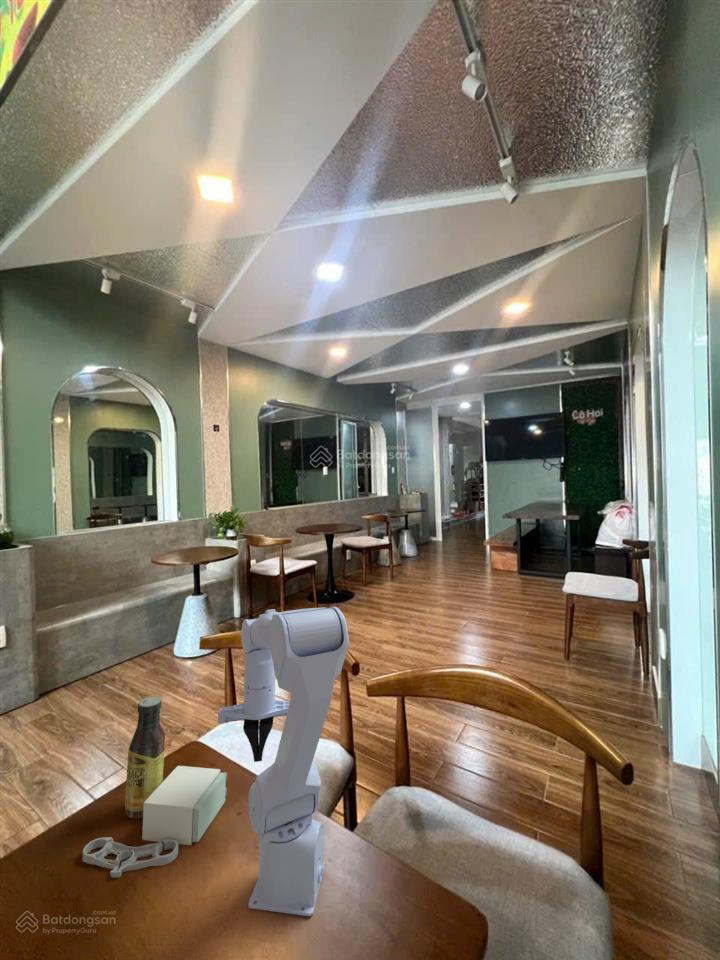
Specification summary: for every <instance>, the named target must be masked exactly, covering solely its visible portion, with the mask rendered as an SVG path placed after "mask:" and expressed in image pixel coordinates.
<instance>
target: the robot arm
mask: <svg viewBox="0 0 720 960" xmlns="http://www.w3.org/2000/svg"><path fill="white" fill-rule="evenodd" d="M348 632H349V631H348V624H347V620H346V617H345V615H344V613H343V612H342V611H341V609H340V608H339V607H337V606H330V607H329V608H327V607H312V608H310V607H309V608H300V609H292V610H285V611H281V612H278V611H276V609H275V608H273V609H272V608H271V609H267V610H265V612H264V613H262V614H259V615H258V618H253V619H247V618H245V619H244V620H243V622H242V624H241V631H240V637H241V638H240V639H241V645H242V650H243V652H244V673H243V674H244V675H243V677H244V678H243V703H239V704H234V705H230V706H225V707H224V706H223V707H220V708H219V710H218V712H217V713H218V715H217V724H219V725H221V724H225V722H233V721H243V726H242V730H243V734H245V736H246V738H247V740H248V743H249V744H250V748H251V751H252V755H253V756H252V757H253V762H254V763H255V762H257V763H258V762H262V761H263V754H264V749H265V746H266V742H267V739H268V738H269V735H270V734H271V733H270V732H271V730H272V729H273V724H274V718H279V717H285V721H284V724H283V729H282V732H281V737H280V741H279V744H278V749H277V753H276V756H275V758H274V759H275V761H274V762H273V763H272V764H271V765H270V766H268V767H267V768H266V769H264V770H262V771H261V772H260V773H259V774H258V775H257V776H256V778H255V782H253V783H252V784H251V787H250V788H249V792H248V811H249V812H248V814H249V820H250V825H251V828H252V831H253V832H254V833H255V834H256V835H257V836H259V855H258V856H259V859H258V860H259V861H258V862H259V863H258V864H259V865H258V868H259V870H258V878H257V882H256V883H255V886H254V888H253V890H252V894H251V896H250V898H249V900H248V902H247V903H248V905H247V906H248V908H249V909H252V910H260V911H269V912H275V913H282V914H283V913H284V914H291V915H298V916H306V917H312V915H313V914H314V911H315V906H316V903H317V899H318V897H319V895H318V894H319V892H320V887H321V883H322V880H323V874H324V871H325V863H324V845H325V844H324V836H325V835H324V824H323V823H322V822H320V821H318V820H315V819H313V814H316V813H317V812H318V809H319V806H320V803H321V786H322V780H321V777H320V774H319V770H318V768H317V765H316V763H315V761H314V758H315V755H316V752H317V747H318V745H319V742H320V738H321V734H322V732H323V729H324V726H325V723H326V718H327V716H328V712H329V708H330V707H331V706H330V705H331V703H332V698H333V694H334V686H335V680H336V678H337V677H339V675H340V674H341V672H342V669H343V666H344V662H345V659H346V656H347V654H348V650H349V647H350V637H349V633H348ZM276 680H277V681H276ZM276 682H277V685H278V688H279V689H281V690H283V691H286V692H288V693H290V694H291V697H290V701H286V700H276Z"/></svg>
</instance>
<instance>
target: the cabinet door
mask: <svg viewBox="0 0 720 960" xmlns="http://www.w3.org/2000/svg"><path fill="white" fill-rule="evenodd" d="M226 784H228V772H227V771H222V772H220V775H219V776H218V777H217V779H216V780H215V781H214V783H213V784H212V785H211V786H210V788H209V789H208V790H207V792H206V793H205V794H204V796H203V797H202V798H201V800H200V801H199V802H198V804H197V805H196V806H195V807H194V809H193V843H198V842H199V841H200V840H201V838H202V837H203V835H204V834H205V832H206V831H207V829H208V828H209V826H210V825H211V823H212V822H213V820H214V819H215V817H216V816H217V815H218V813H219V811H220V810H221V809H222V807H223V805H224V804H225V803H226V799H227V798H228V787H227V786H226Z"/></svg>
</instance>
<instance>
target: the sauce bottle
mask: <svg viewBox="0 0 720 960" xmlns="http://www.w3.org/2000/svg"><path fill="white" fill-rule="evenodd" d="M162 701H163V700H162V698H161V697H159V696H148V697H145V698H143V699H141V700H140V701H139V702H138V704H137V713H138V716H137V717H138V719H137V724H136V729H135V731H134V733H133V736H132V739H131V742H130V743H129V746H128V751H127V753H128V755H127V766H126V780H125V782H126V783H125V797H124V806H125V814H126V816H127V817H128V818H131V819H137V820H140V819H143V807H144V802H145V801H146V800H147V799H148V798H149V797H150V795H151V794H152V793H153V792H154V791H155V790H156V789H157V788H158V787H159V786H160V785H161V783H162V782H163V781H164V765H165V752H166V751H165V748H166V747H165V740H166V734H165V730H164V728H163V727H162V725H161V724H160V721H161V718H160V716H161V715H160V714H161V707H162V705H163V704H162Z"/></svg>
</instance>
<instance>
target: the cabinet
mask: <svg viewBox="0 0 720 960" xmlns="http://www.w3.org/2000/svg"><path fill="white" fill-rule="evenodd" d="M220 773H221V768H207V767H197V766H186V765H177V766H176V767H175V768H174V769H173V770H172V772H171V773H170V774H169V775H168V776H167V777H166V778H164V779H163V782H162V783H161V785H160V786H159V787H158V788H157V789H156V790H155V791H154V792H153V793H152V794H151V795H150V797H149V798H148V799H147V800H146V801H145V802H144V807H143V818H142V837H141V838H142V839H141V840H142V841H149V842H156V843H158V842H161V843H162V841H163V840H164V839H172V840H176V841H177V842H178V845H185V846H192V844H193V843H194V842H193V809H194V807H195V806H196V805H197V804H198V802H199V801H200V800H201V798H202V797H203V796H204V794H205V793H206V792H207V790H208V789H209V788H210V786H211V785H212V784H213V783H214V781H215V780H216V779H217V777H218V776H219V775H220Z"/></svg>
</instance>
